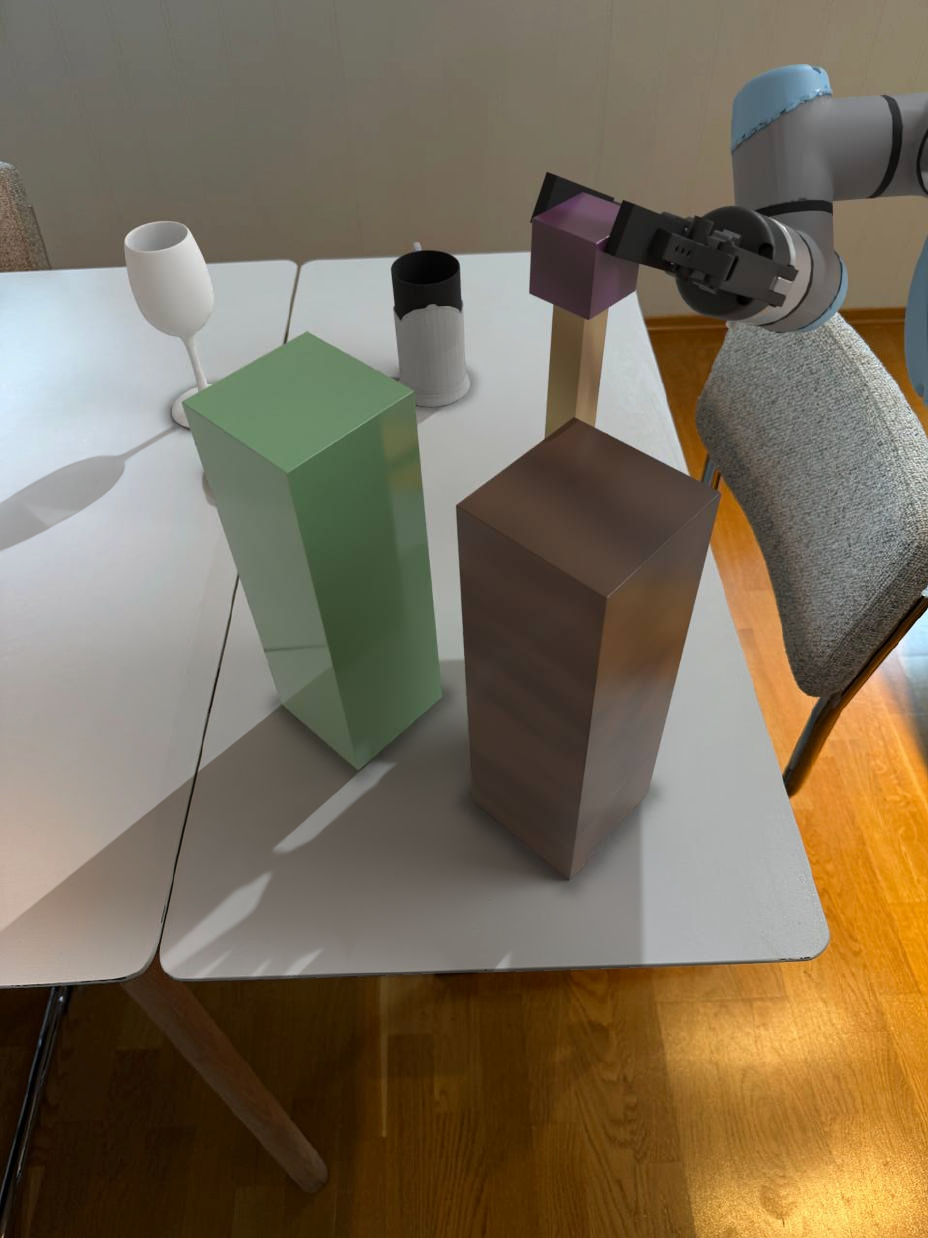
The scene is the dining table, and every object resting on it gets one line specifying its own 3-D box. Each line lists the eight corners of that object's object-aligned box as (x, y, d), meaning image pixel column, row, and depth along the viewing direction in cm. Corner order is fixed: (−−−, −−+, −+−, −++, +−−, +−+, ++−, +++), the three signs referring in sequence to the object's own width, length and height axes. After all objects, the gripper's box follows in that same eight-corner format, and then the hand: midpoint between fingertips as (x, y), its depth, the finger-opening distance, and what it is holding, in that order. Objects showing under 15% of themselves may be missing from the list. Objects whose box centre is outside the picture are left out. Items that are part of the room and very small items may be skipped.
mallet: (596, 243, 47) (646, 214, 50) (531, 217, 49) (582, 191, 52) (573, 473, 59) (615, 441, 61) (521, 444, 61) (563, 415, 63)
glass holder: (402, 411, 105) (389, 292, 94) (388, 343, 114) (375, 228, 103) (475, 401, 106) (472, 282, 94) (456, 335, 115) (451, 220, 103)
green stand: (358, 771, 74) (286, 473, 50) (281, 704, 79) (180, 401, 54) (442, 697, 79) (414, 390, 54) (365, 638, 83) (306, 330, 59)
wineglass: (189, 382, 110) (135, 213, 94) (256, 388, 109) (213, 218, 93) (160, 426, 105) (97, 254, 89) (229, 433, 103) (179, 260, 87)
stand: (569, 881, 67) (606, 598, 43) (471, 801, 72) (455, 504, 47) (648, 793, 72) (722, 492, 47) (551, 723, 76) (573, 415, 52)
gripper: (824, 361, 64) (686, 340, 46) (626, 279, 72) (443, 233, 54) (878, 255, 61) (752, 187, 43) (664, 181, 69) (483, 98, 51)
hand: (580, 213), depth 49 cm, fingers closed on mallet, 5 cm apart
